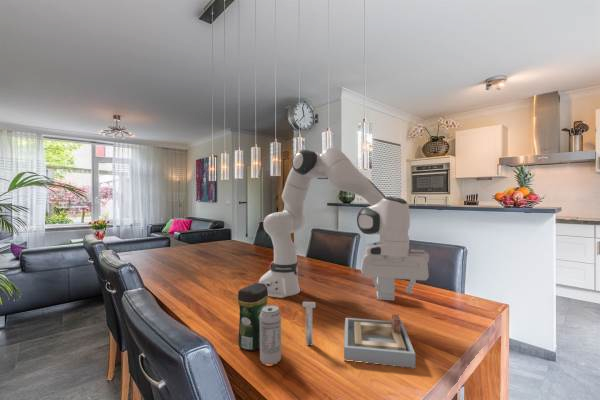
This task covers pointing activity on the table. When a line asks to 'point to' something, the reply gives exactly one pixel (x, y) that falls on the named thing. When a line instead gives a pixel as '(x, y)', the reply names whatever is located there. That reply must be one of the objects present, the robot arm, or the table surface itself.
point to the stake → (309, 320)
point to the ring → (380, 330)
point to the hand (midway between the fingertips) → (393, 291)
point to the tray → (377, 354)
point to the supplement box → (386, 289)
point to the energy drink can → (270, 334)
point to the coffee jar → (251, 314)
